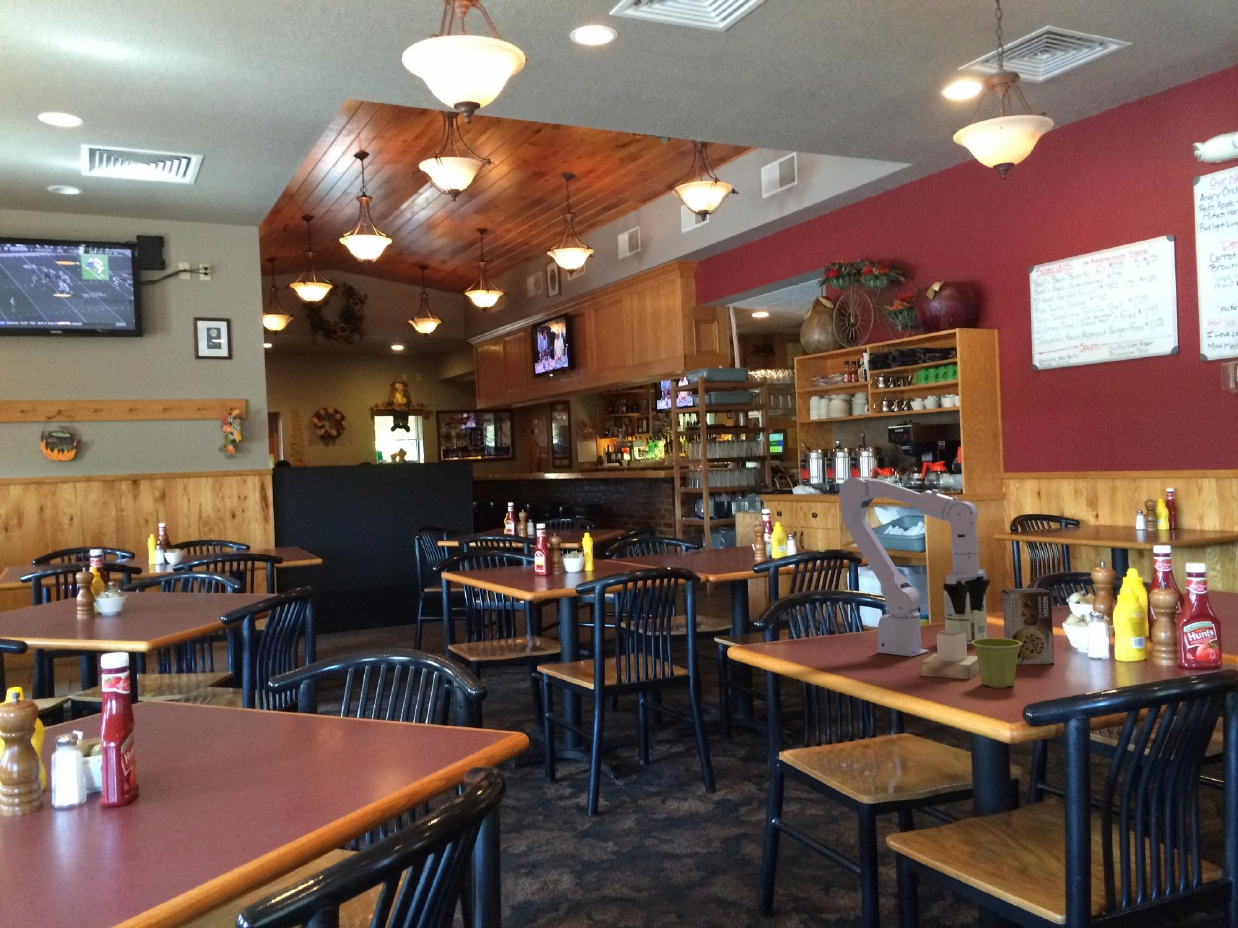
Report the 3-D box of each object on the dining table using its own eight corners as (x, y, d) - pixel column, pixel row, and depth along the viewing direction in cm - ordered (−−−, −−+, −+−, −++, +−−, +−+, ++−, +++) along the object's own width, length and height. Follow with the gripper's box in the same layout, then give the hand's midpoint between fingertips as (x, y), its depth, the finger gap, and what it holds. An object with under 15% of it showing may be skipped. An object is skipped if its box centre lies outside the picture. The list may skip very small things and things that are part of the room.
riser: (921, 675, 212) (921, 661, 212) (934, 666, 221) (934, 653, 221) (970, 679, 207) (969, 664, 207) (981, 670, 215) (981, 656, 215)
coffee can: (950, 636, 258) (948, 582, 258) (992, 638, 253) (989, 583, 253) (940, 643, 249) (938, 586, 250) (982, 645, 244) (980, 588, 244)
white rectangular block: (937, 659, 214) (936, 631, 214) (948, 656, 217) (947, 628, 217) (956, 661, 210) (955, 633, 211) (967, 658, 213) (966, 630, 213)
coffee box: (1045, 658, 225) (1042, 587, 225) (1055, 664, 219) (1052, 590, 219) (1004, 659, 226) (1001, 588, 226) (1012, 664, 220) (1009, 591, 220)
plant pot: (1025, 690, 195) (1023, 646, 195) (974, 689, 198) (972, 645, 198) (1020, 680, 204) (1019, 638, 204) (972, 679, 207) (970, 637, 207)
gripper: (965, 556, 223) (968, 617, 222) (996, 551, 232) (1000, 609, 232) (936, 555, 228) (939, 615, 228) (968, 550, 237) (972, 607, 237)
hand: (968, 612), depth 230 cm, fingers open, 7 cm apart
